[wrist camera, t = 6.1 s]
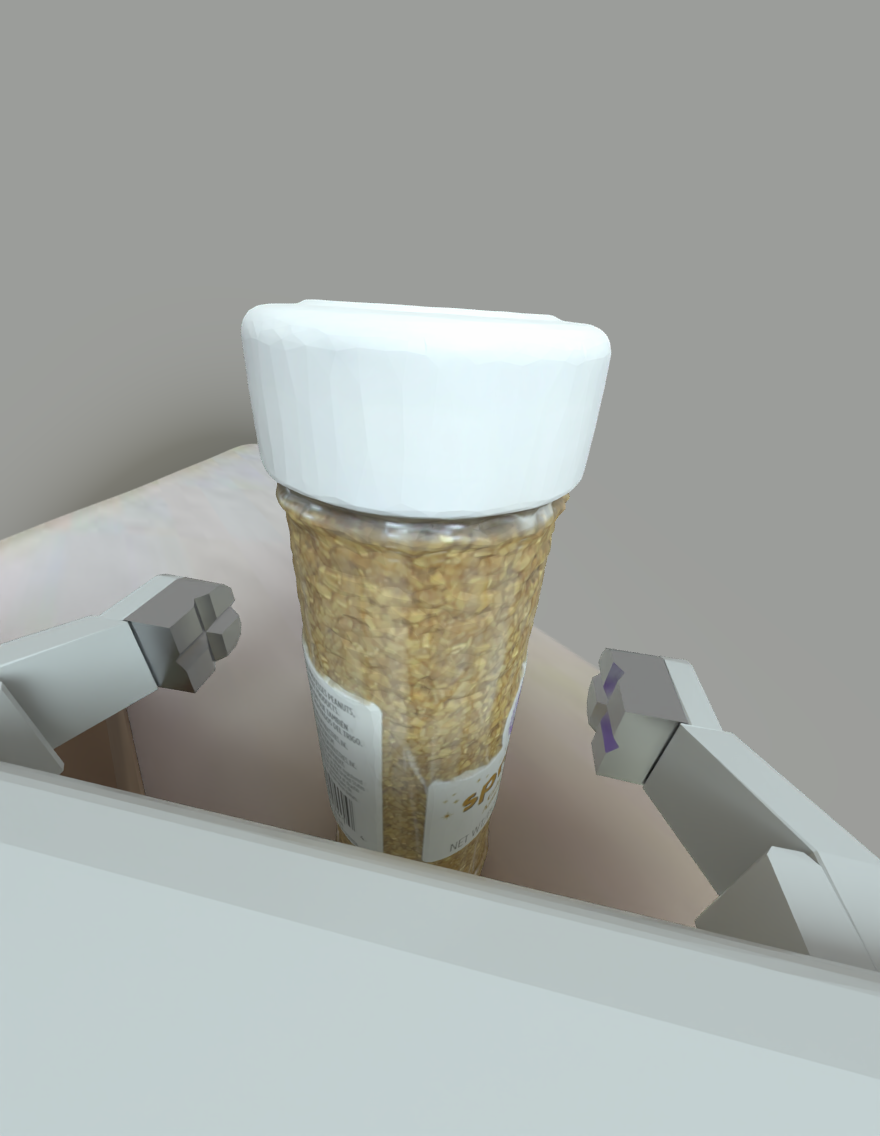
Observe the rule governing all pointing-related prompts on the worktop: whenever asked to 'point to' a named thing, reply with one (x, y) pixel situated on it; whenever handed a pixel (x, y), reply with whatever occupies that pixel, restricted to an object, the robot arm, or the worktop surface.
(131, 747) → the spice caddy
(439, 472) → the sprinkles bottle
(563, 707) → the worktop surface
